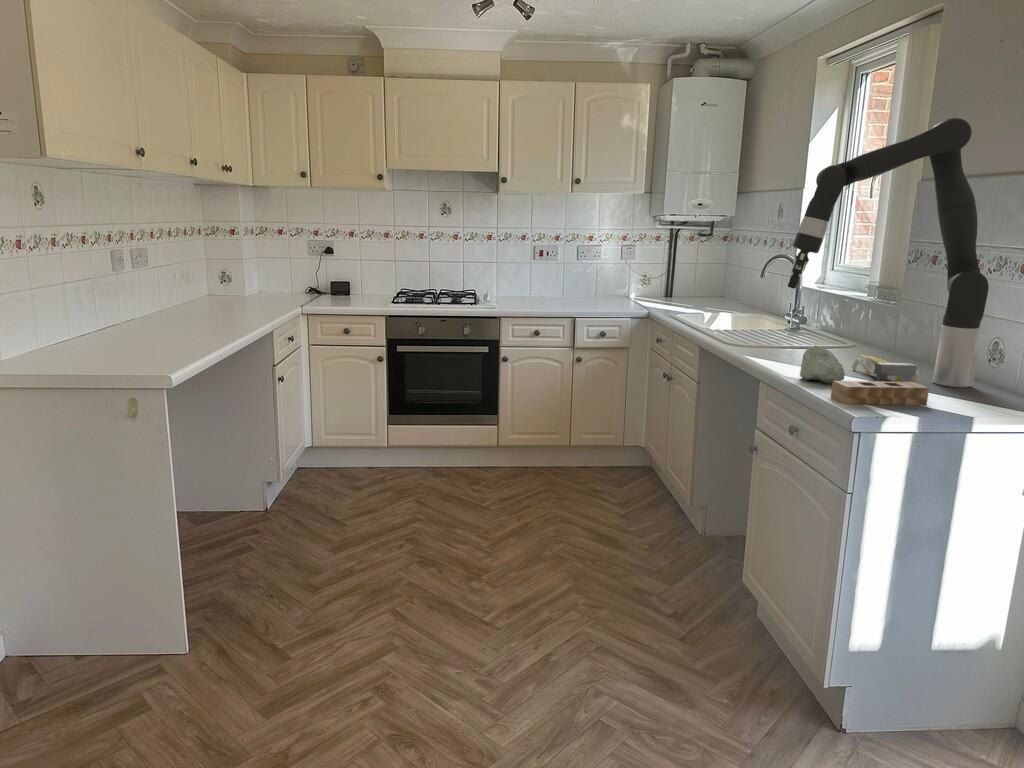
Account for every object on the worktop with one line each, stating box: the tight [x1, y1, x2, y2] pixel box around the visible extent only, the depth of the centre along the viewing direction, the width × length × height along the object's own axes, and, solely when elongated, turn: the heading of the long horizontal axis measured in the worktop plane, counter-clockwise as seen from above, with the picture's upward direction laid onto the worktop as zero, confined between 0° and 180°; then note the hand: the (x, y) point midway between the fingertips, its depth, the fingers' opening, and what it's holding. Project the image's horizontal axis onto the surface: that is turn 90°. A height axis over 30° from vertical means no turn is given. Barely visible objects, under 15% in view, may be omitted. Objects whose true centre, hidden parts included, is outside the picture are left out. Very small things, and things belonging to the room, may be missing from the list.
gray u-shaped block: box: [874, 362, 918, 382], centre depth 196 cm, size 10×3×8 cm, turn 94°
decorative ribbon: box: [851, 354, 922, 384], centre depth 213 cm, size 8×6×30 cm
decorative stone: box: [799, 344, 846, 385], centre depth 208 cm, size 14×11×10 cm
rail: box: [830, 380, 930, 406], centre depth 186 cm, size 22×7×4 cm, turn 94°
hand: (791, 287), depth 215 cm, fingers open, 8 cm apart
